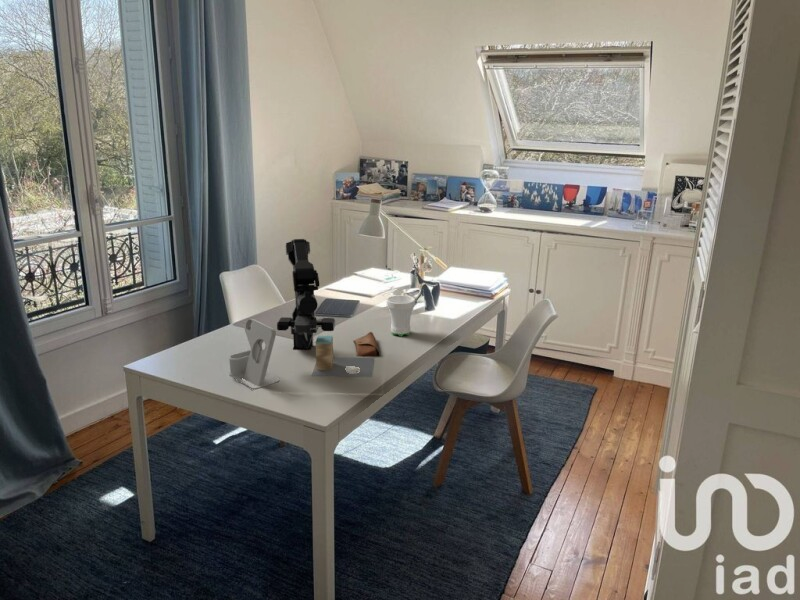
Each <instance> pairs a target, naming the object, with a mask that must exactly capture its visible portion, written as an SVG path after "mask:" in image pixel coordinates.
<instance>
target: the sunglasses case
mask: <svg viewBox="0 0 800 600" xmlns="http://www.w3.org/2000/svg"><path fill="white" fill-rule="evenodd" d="M352 342H353V343H354V346H355V350H356V351H355V352H356V357H380V350H379V346H378V343H377V340H376V337H375V335H374V333H373V331H369V332H368V333H367V334H365V335H363V336H361V337H359V338H356V339H355V340H353V341H352Z"/></svg>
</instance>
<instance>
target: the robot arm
mask: <svg viewBox="0 0 800 600" xmlns="http://www.w3.org/2000/svg"><path fill="white" fill-rule="evenodd" d="M285 254H286V255H287V260H288V262H289V263H290V264H291V266H292V270H291V271H292V283H293V284H292V287H293V291H294V302H295V307H294V308H293V311H292V313H291V317H280V318H279V320H278V321H277V322H276V330H277V331H287V330H290V335H292V337H293V339H292V340H293V348H292V350H297V351H299V350H300V351H310V350H312V347H313V346H314V334H316V333H317V332H318V329H319V328H321V330H322V331H323V332H334V330H335V328H336V319H335V318H334V317H322V318H323V319H322V321H321V320H318V319H317V317H316V316H315V314H316V312H315V311H316V310H317V309H318V305H319V304H318V301H317V298H316V296H315V291H319V287H320V278H319V273H318V272H317V270H316V269H315V267H314V264H313V263H312V262H309V254H311V244H310V241H308V240H307V239H304V238H294V239H292V240H291V241H289V242H286V243H285ZM286 255H285V256H286Z"/></svg>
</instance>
